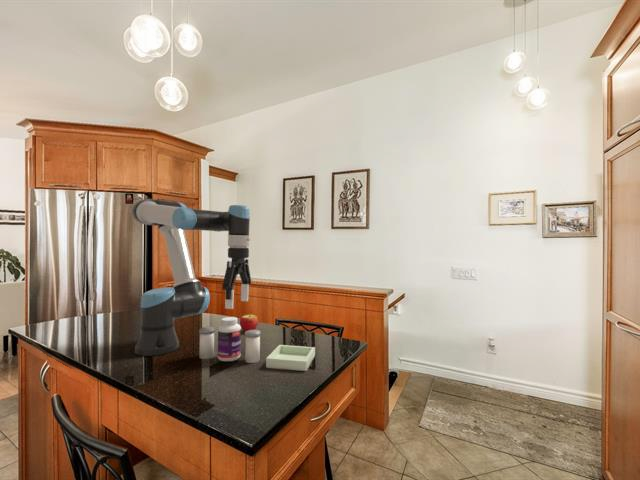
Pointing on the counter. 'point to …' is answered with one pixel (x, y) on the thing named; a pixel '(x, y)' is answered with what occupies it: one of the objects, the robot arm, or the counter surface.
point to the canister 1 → (206, 342)
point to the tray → (291, 357)
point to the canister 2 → (252, 346)
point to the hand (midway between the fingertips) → (237, 304)
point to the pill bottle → (229, 339)
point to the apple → (248, 322)
